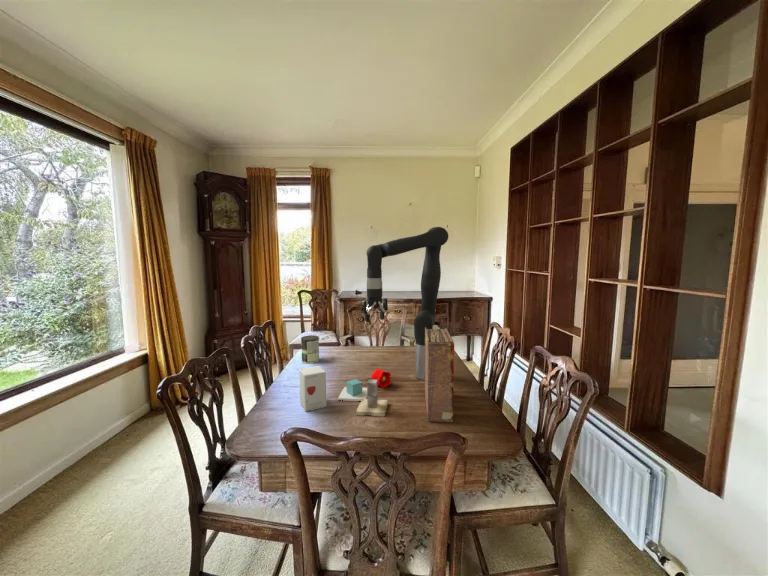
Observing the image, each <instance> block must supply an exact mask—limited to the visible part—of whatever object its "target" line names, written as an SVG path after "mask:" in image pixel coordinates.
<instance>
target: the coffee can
mask: <svg viewBox="0 0 768 576" xmlns="http://www.w3.org/2000/svg"><path fill="white" fill-rule="evenodd" d="M319 339H320V337H319V336H318V335H304V336H302V337H300V340H301V341H300V343H301V363H303V364H314V363H318V362H319V361H320V340H319Z"/></svg>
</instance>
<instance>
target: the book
mask: <svg viewBox="0 0 768 576" xmlns="http://www.w3.org/2000/svg"><path fill="white" fill-rule="evenodd" d="M454 368H455V342H454V340H453V338H452V336H451V335H450V332H449V331H448V329H447V327H444V328H439V329H438V328H433V329H426V327H425V380H424V398H425V406H426V407H425V408H426V417H427V422H432V423H433V422H434V423H435V422H436V423H437V422H439V423H440V422H441V423H454V388H455V387H454V385H455V384H454V383H455V382H454V381H455V380H454V379H455V369H454Z"/></svg>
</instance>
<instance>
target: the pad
mask: <svg viewBox="0 0 768 576" xmlns="http://www.w3.org/2000/svg"><path fill="white" fill-rule="evenodd" d="M361 399H367V387H362V393H361V394H358V395H356V396H351V395H350V394H348V393H347V386H344V387H343V389H342V390H341V391H340V394H339V395H338V397H337V401H338V400H341V401H340V402H358V401H361ZM342 400H343V401H342Z"/></svg>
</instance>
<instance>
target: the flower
mask: <svg viewBox="0 0 768 576" xmlns="http://www.w3.org/2000/svg"><path fill="white" fill-rule="evenodd" d="M391 376H392V375H391V372H389V371H386V370H383V369H381V368H377V369H375V370H374V371H373V372H372V373H371V380H377V387H378V386H379V387H381V388H382V389H384V388H387V387H388V386H389V385H390V384H391V380H392V377H391Z"/></svg>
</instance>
